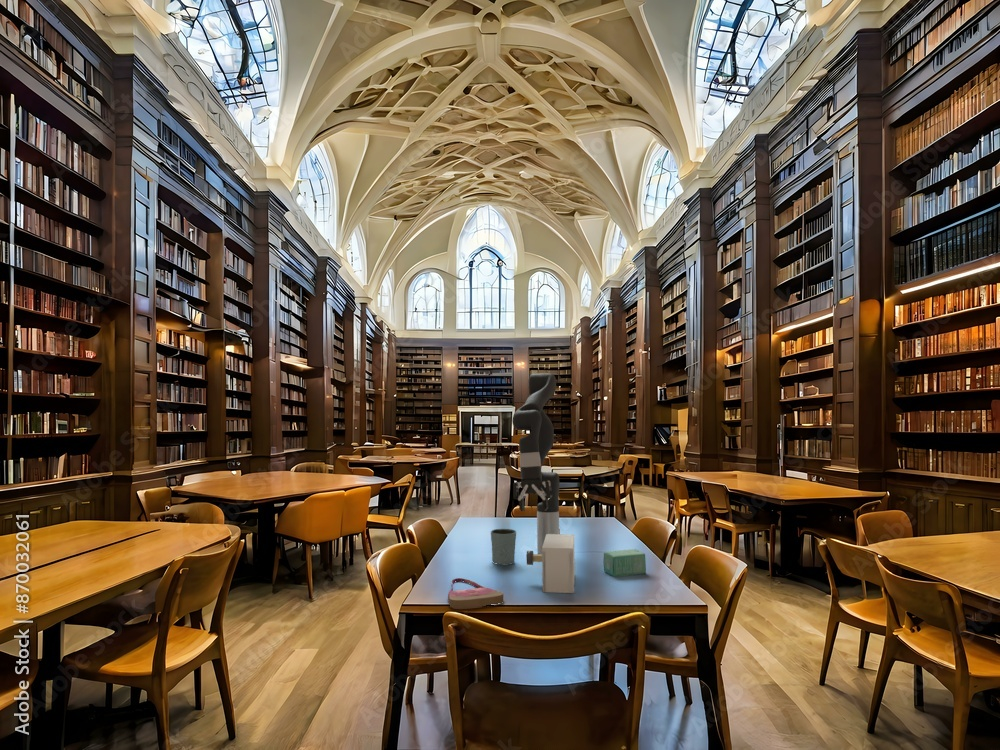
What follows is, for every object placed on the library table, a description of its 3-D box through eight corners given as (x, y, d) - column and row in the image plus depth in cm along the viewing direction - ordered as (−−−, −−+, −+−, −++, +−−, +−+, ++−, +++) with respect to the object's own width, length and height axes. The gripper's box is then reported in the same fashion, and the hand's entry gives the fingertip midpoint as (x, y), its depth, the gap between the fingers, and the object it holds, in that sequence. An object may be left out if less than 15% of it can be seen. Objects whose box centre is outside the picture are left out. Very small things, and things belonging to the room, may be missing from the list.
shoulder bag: (507, 605, 167) (479, 582, 194) (506, 595, 168) (479, 573, 194) (452, 612, 162) (432, 587, 188) (452, 601, 162) (432, 578, 188)
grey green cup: (507, 558, 224) (507, 527, 225) (521, 563, 215) (521, 531, 216) (485, 561, 218) (485, 530, 219) (499, 567, 210) (499, 534, 211)
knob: (527, 562, 193) (527, 549, 194) (550, 563, 192) (550, 550, 193) (526, 566, 189) (526, 552, 189) (550, 567, 188) (549, 553, 188)
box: (603, 571, 203) (602, 551, 203) (635, 569, 207) (635, 548, 207) (613, 577, 196) (612, 555, 196) (646, 574, 200) (646, 553, 200)
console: (546, 573, 201) (546, 533, 202) (574, 574, 199) (574, 534, 200) (542, 591, 179) (542, 547, 180) (573, 593, 177) (573, 548, 179)
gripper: (552, 463, 202) (556, 509, 200) (516, 465, 208) (519, 510, 205) (545, 464, 195) (548, 512, 193) (508, 466, 201) (511, 512, 199)
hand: (533, 511), depth 199 cm, fingers open, 8 cm apart
